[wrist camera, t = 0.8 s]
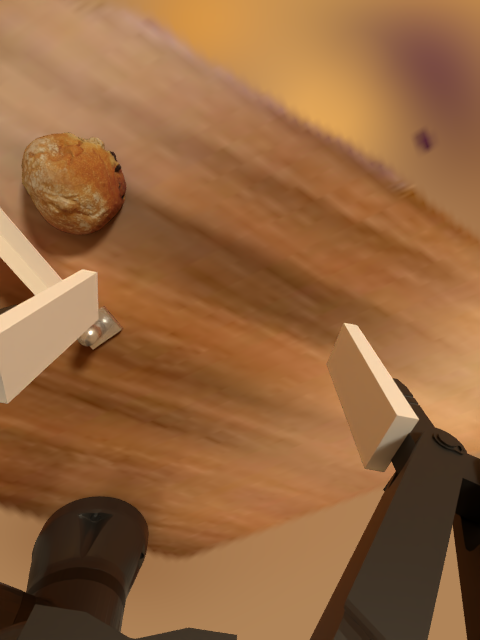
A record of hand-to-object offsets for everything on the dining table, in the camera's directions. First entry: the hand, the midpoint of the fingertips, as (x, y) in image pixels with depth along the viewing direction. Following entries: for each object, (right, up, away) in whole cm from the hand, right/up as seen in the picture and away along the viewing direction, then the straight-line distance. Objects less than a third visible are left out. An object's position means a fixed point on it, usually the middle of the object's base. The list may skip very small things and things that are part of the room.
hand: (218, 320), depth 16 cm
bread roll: (-17, +16, +18) cm, 30 cm away
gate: (-23, +9, +17) cm, 30 cm away
